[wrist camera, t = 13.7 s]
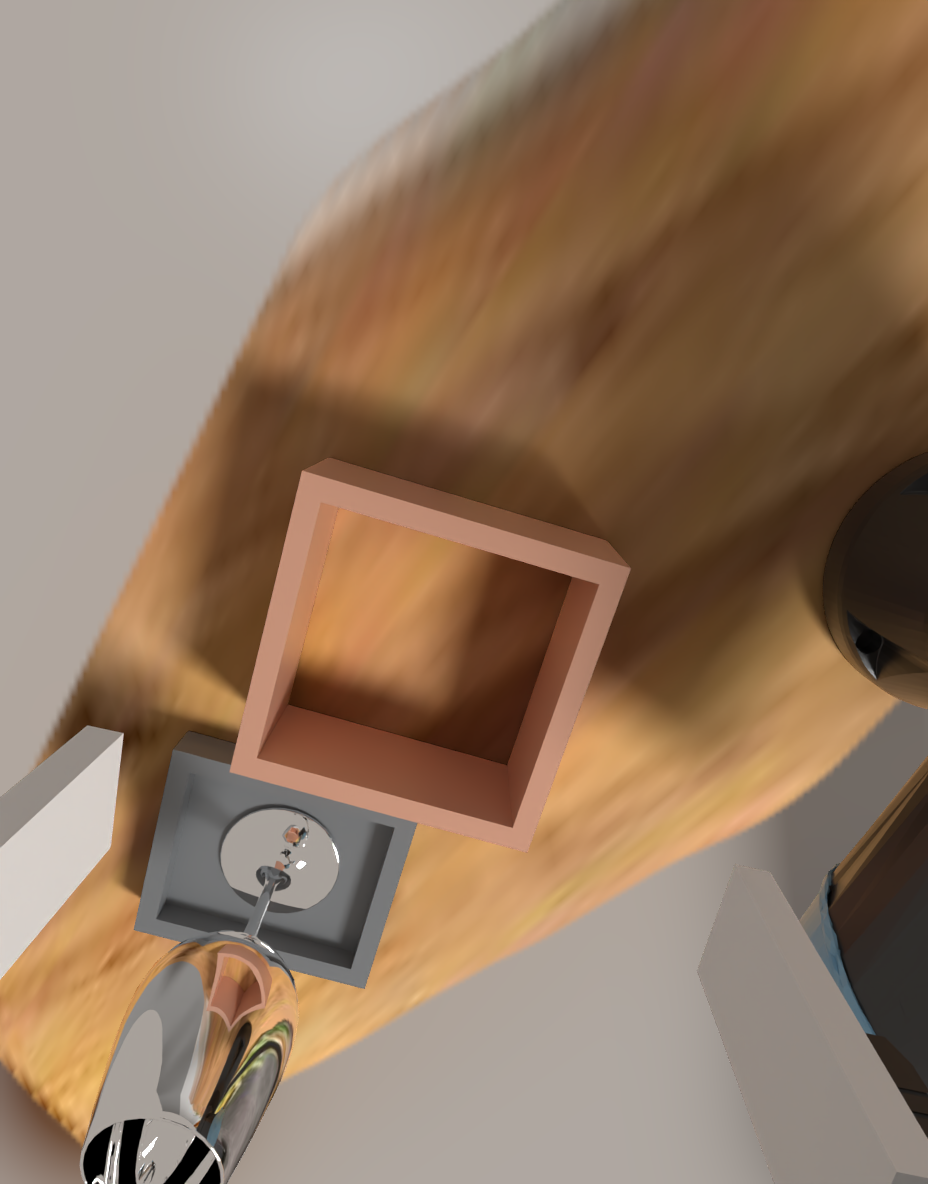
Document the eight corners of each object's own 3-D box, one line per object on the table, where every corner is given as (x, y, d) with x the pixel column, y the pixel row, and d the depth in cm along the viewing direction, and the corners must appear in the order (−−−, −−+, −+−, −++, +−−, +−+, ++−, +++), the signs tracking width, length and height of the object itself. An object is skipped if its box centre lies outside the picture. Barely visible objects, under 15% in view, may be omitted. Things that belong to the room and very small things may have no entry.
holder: (606, 540, 44) (630, 568, 37) (519, 787, 48) (527, 852, 41) (329, 457, 43) (301, 470, 36) (264, 716, 47) (229, 772, 40)
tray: (422, 794, 48) (419, 816, 46) (369, 960, 51) (364, 988, 49) (188, 730, 47) (173, 749, 45) (150, 904, 50) (133, 929, 48)
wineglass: (336, 919, 49) (247, 1261, 30) (216, 904, 49) (48, 1237, 30) (348, 813, 47) (261, 1105, 28) (223, 796, 47) (48, 1079, 28)
